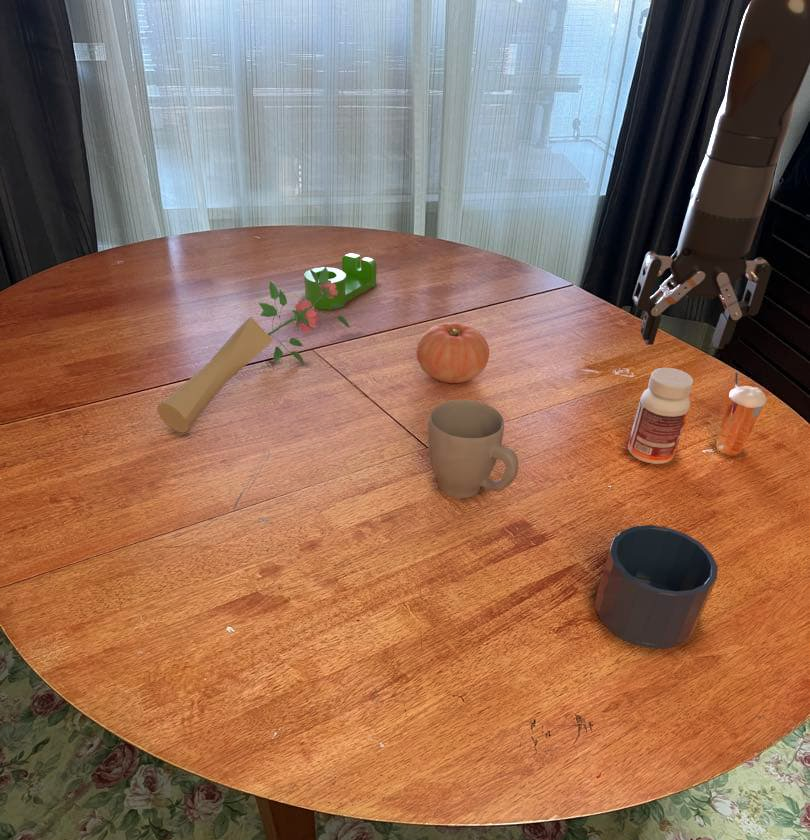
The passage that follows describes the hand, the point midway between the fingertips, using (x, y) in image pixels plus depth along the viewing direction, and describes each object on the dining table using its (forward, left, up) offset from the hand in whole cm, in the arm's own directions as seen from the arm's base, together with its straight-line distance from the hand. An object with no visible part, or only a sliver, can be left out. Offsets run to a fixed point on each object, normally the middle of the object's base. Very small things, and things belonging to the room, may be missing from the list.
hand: (682, 343), depth 92 cm
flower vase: (+55, -15, -16) cm, 59 cm away
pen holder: (+8, +30, -16) cm, 35 cm away
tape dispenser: (+45, -48, -16) cm, 68 cm away
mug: (+25, +10, -16) cm, 31 cm away
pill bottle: (0, 0, -16) cm, 16 cm away
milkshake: (-11, -2, -16) cm, 20 cm away
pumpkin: (+26, -19, -16) cm, 36 cm away
